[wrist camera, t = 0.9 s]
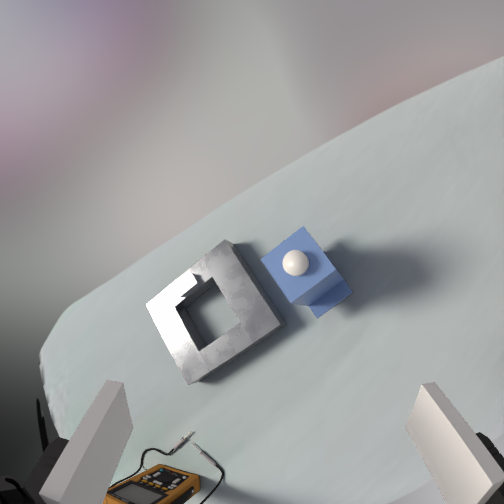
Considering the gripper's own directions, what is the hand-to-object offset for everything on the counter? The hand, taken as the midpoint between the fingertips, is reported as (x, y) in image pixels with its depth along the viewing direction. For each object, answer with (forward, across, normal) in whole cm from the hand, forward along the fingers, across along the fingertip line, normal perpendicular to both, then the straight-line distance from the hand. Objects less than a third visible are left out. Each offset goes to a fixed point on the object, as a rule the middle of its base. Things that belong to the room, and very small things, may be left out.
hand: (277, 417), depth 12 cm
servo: (+24, +7, -1) cm, 25 cm away
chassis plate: (+26, -5, -7) cm, 28 cm away
